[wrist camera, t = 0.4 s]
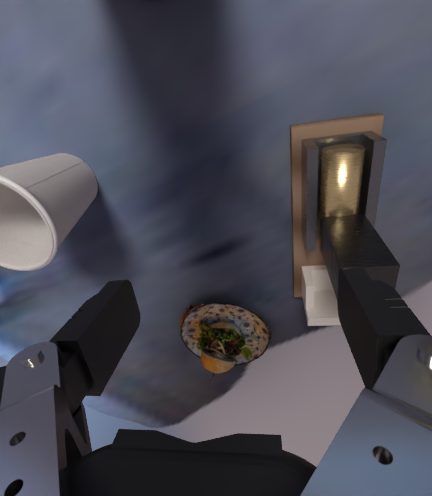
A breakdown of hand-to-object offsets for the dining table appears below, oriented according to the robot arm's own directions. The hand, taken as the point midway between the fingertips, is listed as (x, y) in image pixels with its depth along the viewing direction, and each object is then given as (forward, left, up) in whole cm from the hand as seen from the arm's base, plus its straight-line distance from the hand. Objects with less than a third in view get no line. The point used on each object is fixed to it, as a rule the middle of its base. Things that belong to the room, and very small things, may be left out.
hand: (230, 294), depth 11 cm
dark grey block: (+4, +8, -17) cm, 19 cm away
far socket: (+14, +8, -18) cm, 23 cm away
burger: (+22, -5, -19) cm, 30 cm away
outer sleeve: (+3, +8, -18) cm, 19 cm away
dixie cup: (0, -18, -19) cm, 26 cm away
